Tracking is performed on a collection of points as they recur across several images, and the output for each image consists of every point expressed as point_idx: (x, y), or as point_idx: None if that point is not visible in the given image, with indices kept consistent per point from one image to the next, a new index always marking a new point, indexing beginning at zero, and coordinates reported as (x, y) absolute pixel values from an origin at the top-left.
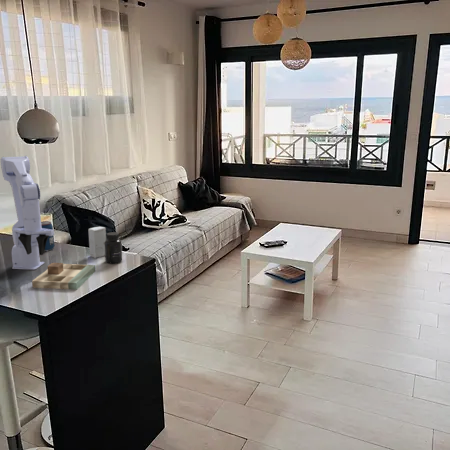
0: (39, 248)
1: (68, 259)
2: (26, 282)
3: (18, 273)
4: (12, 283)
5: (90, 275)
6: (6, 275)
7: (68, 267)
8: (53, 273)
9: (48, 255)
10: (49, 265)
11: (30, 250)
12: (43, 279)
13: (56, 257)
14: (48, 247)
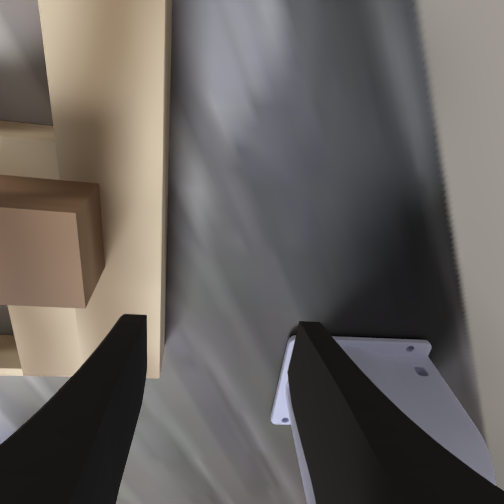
0: (108, 375)
1: (162, 464)
2: (272, 125)
3: (376, 283)
4: (373, 104)
5: None
6: (443, 251)
7: (11, 321)
8: (41, 180)
9: (287, 490)
10: (66, 236)
11: (297, 386)
12: (64, 33)
13: (238, 477)
14: None
